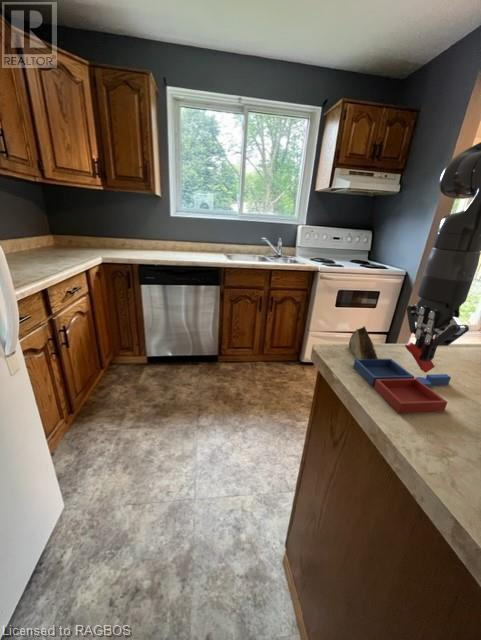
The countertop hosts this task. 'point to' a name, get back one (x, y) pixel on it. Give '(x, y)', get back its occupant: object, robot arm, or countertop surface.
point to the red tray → (409, 395)
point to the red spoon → (416, 354)
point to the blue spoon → (435, 379)
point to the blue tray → (380, 370)
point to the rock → (362, 345)
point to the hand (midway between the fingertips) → (421, 358)
